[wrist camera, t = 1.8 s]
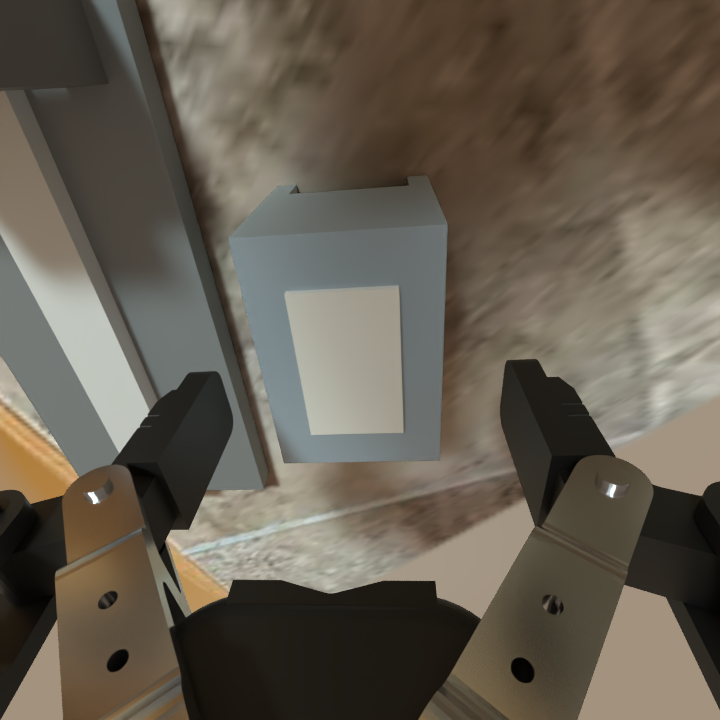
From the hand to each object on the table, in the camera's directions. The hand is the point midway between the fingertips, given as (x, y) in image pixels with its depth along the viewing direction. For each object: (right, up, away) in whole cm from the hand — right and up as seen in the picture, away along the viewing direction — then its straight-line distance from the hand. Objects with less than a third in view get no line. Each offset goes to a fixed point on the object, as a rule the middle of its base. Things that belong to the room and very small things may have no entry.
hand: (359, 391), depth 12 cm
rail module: (0, +4, +6) cm, 7 cm away
